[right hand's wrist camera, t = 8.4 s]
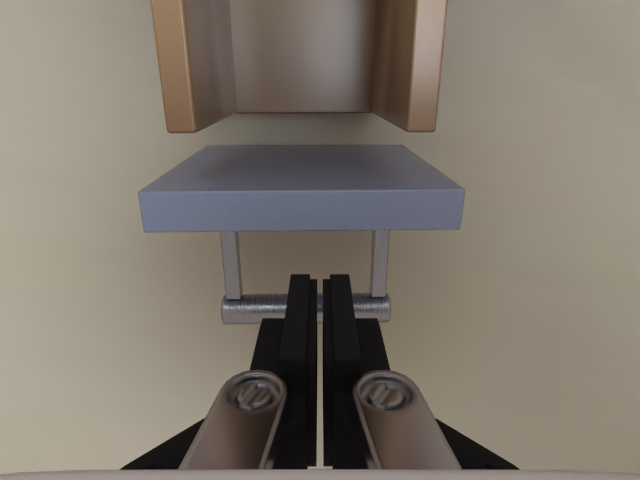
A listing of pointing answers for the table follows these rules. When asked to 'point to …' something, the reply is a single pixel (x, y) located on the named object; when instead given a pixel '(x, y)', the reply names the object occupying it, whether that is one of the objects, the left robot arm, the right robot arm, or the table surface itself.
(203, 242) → the table surface
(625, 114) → the table surface
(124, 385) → the table surface
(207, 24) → the drawer
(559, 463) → the table surface
